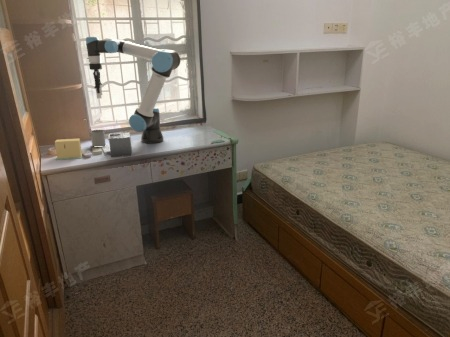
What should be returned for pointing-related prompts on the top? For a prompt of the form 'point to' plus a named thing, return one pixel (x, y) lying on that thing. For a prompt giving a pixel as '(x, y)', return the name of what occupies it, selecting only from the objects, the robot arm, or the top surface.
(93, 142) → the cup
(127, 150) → the dispenser
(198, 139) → the top surface
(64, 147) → the yellow rectangular block
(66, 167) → the top surface
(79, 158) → the pad
